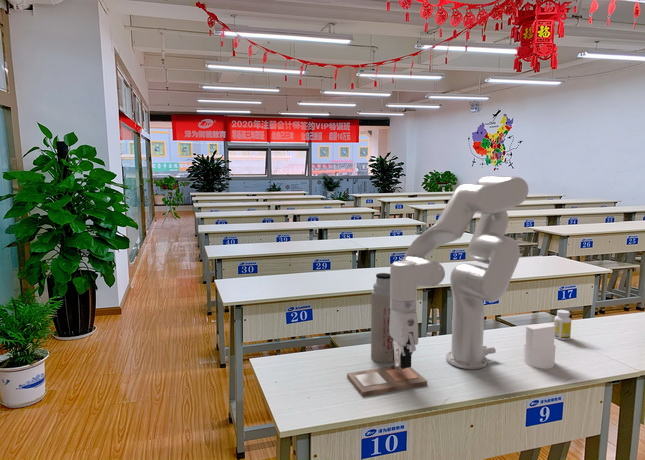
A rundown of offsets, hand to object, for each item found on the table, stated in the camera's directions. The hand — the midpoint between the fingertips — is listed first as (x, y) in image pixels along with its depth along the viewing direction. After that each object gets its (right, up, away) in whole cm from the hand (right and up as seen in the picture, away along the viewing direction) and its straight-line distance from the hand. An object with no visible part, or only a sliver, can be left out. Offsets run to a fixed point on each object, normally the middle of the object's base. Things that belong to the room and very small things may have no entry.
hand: (401, 363), depth 136 cm
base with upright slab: (+45, -3, +11) cm, 47 cm away
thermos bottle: (-4, -3, +15) cm, 16 cm away
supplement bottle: (+63, 0, +31) cm, 70 cm away
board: (-5, -5, -1) cm, 7 cm away
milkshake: (0, -2, 0) cm, 2 cm away
